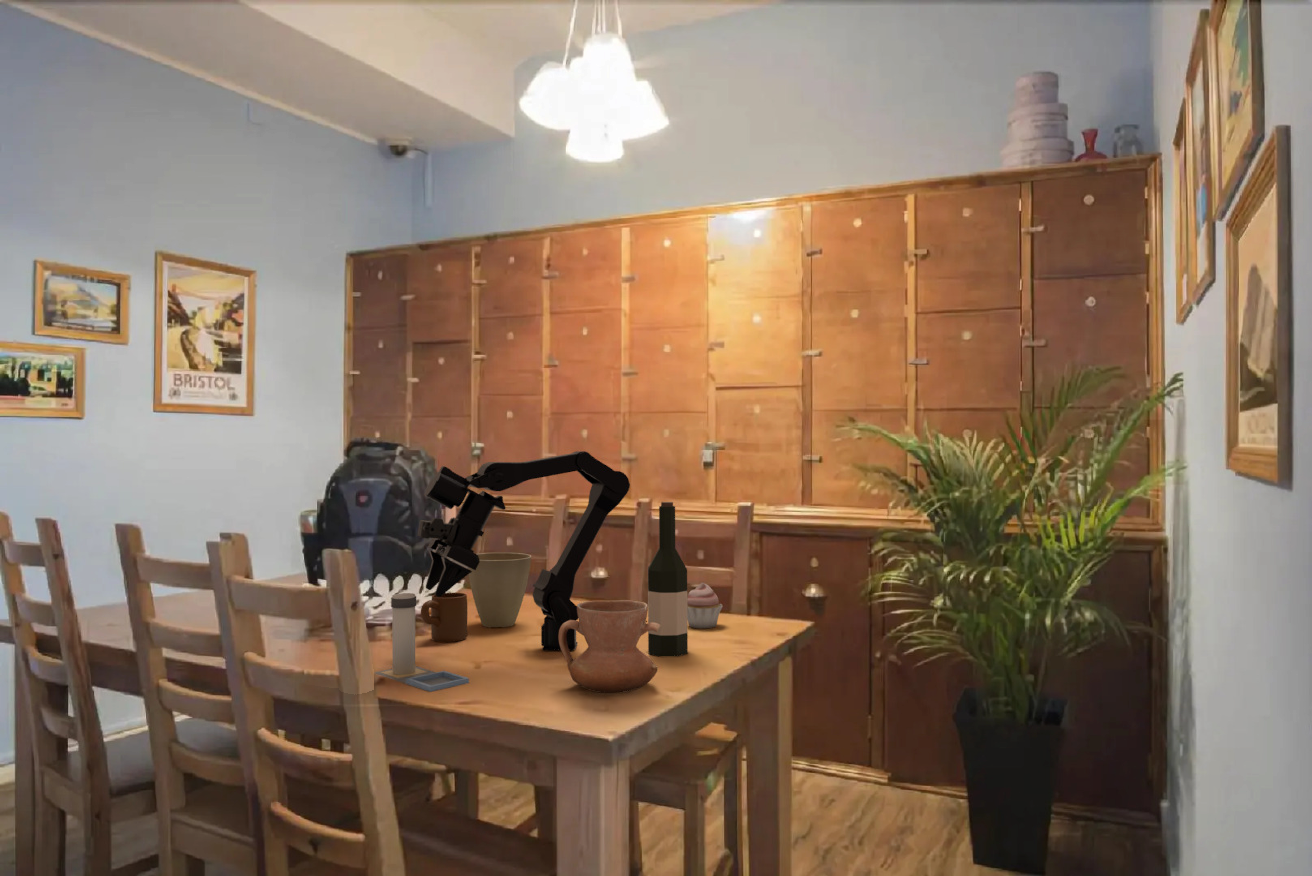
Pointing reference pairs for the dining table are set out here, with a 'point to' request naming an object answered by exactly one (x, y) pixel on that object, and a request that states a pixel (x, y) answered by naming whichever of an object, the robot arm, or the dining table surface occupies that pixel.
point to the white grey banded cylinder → (403, 633)
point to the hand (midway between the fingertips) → (432, 592)
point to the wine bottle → (667, 591)
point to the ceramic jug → (610, 646)
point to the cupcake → (703, 607)
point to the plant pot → (499, 587)
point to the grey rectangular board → (427, 679)
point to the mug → (446, 617)
